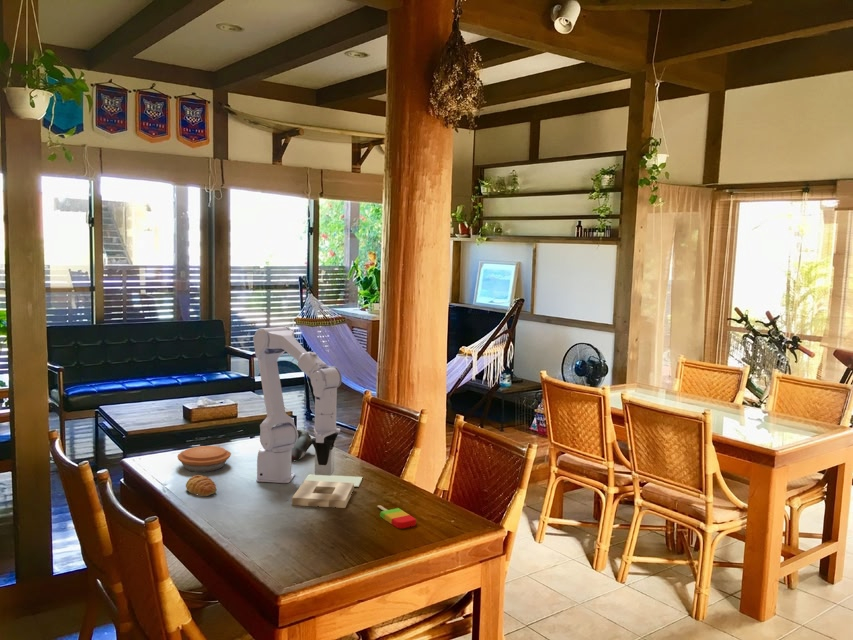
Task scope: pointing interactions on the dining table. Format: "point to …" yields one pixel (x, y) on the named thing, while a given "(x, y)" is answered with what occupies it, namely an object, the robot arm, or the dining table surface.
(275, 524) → the dining table surface
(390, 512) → the popsicle
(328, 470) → the block
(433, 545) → the dining table surface
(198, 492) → the pastry
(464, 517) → the dining table surface
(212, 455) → the pie
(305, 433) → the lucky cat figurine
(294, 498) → the pocket board
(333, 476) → the mat
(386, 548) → the dining table surface
